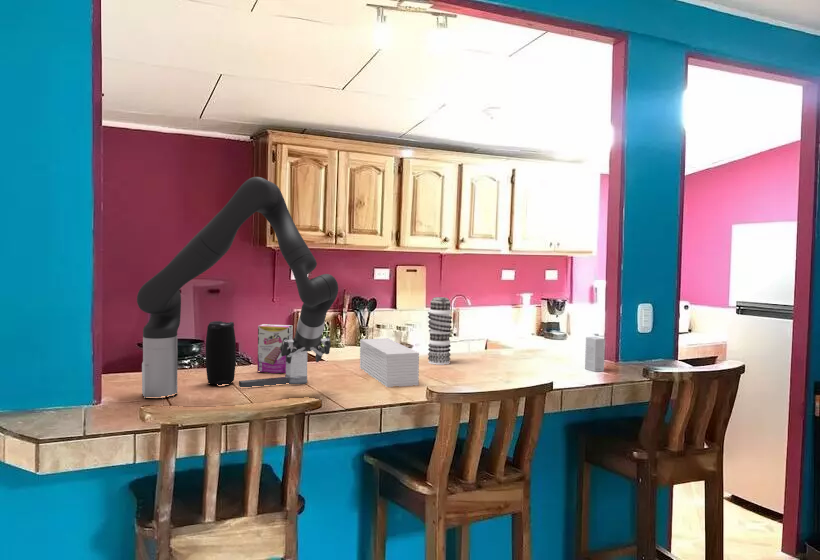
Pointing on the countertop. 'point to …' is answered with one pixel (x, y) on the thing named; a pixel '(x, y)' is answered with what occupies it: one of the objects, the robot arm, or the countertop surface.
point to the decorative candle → (439, 331)
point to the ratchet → (273, 381)
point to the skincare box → (594, 354)
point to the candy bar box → (272, 347)
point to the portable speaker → (220, 352)
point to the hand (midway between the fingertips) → (302, 360)
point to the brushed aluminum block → (297, 365)
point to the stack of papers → (389, 362)
